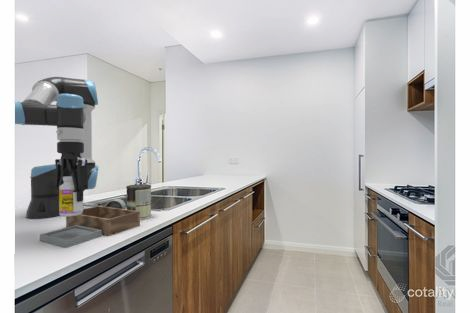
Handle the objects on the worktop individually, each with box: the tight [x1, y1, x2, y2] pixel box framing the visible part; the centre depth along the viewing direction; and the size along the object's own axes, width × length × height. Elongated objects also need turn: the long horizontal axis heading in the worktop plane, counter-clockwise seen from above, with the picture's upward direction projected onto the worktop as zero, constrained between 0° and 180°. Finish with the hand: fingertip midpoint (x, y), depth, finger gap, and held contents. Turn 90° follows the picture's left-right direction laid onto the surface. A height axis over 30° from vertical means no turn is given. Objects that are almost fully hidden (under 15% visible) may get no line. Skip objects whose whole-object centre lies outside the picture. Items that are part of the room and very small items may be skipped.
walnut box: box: [65, 205, 141, 237], centre depth 98 cm, size 24×14×6 cm, turn 64°
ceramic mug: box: [104, 198, 127, 209], centre depth 114 cm, size 11×8×8 cm
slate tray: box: [39, 225, 103, 249], centre depth 84 cm, size 14×12×2 cm
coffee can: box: [125, 183, 152, 221], centre depth 111 cm, size 10×10×14 cm
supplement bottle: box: [59, 176, 83, 218], centre depth 84 cm, size 7×7×13 cm
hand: (71, 210), depth 84 cm, fingers closed on supplement bottle, 7 cm apart
